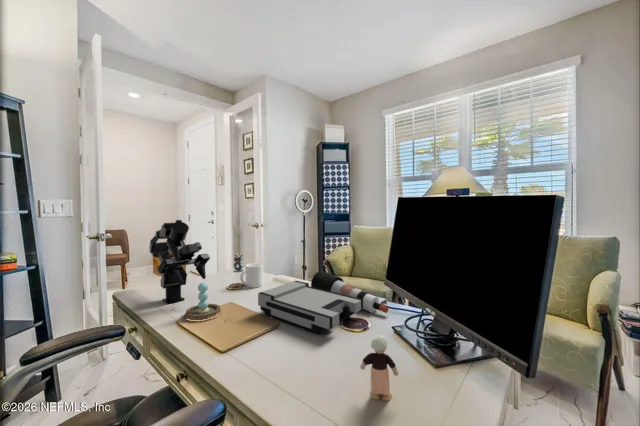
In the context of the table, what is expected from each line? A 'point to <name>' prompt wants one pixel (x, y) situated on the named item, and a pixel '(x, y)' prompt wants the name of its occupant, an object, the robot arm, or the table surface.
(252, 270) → the mug
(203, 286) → the bead stack
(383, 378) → the grandmother figurine
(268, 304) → the grey boxy piece
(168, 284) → the robot arm
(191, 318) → the groove tray
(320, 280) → the cable
